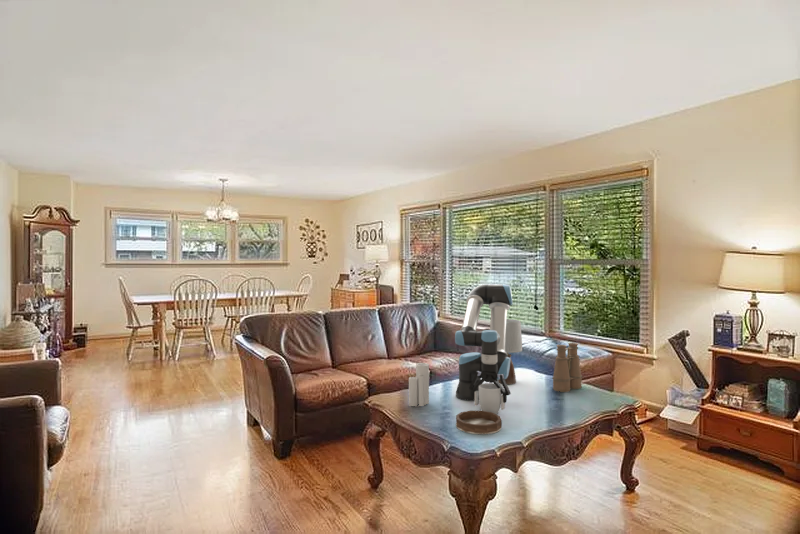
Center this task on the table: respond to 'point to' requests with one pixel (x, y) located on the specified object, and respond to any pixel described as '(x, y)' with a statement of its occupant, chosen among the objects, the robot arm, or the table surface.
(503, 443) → the table surface
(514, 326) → the lamp
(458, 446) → the table surface
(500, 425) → the holder
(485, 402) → the mug
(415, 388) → the vase
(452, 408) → the table surface
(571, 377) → the binoculars
